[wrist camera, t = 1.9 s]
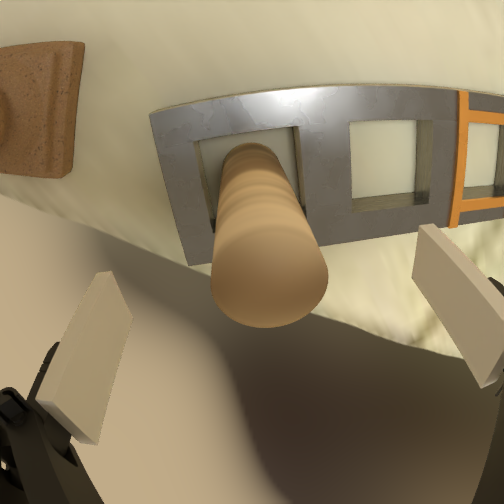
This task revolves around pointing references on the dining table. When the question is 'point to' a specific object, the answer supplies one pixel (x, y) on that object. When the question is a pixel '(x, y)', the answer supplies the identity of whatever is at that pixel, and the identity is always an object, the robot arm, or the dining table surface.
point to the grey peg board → (336, 157)
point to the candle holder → (39, 107)
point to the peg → (263, 244)
